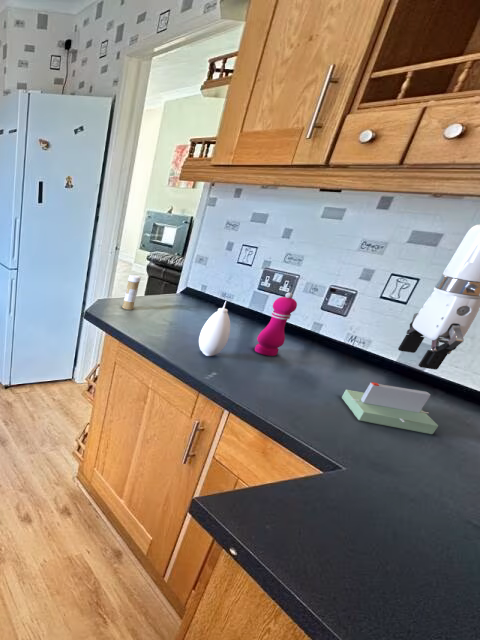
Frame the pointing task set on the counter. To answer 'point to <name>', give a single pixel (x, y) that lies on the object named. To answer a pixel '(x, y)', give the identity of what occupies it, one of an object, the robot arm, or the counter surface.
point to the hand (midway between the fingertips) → (416, 359)
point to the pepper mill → (276, 326)
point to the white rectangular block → (395, 397)
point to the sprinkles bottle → (131, 292)
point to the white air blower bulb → (215, 332)
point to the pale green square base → (388, 414)
